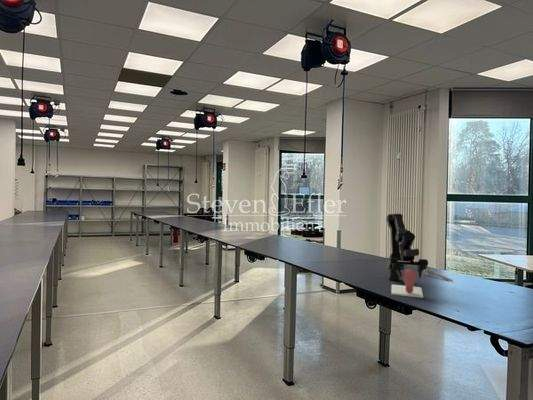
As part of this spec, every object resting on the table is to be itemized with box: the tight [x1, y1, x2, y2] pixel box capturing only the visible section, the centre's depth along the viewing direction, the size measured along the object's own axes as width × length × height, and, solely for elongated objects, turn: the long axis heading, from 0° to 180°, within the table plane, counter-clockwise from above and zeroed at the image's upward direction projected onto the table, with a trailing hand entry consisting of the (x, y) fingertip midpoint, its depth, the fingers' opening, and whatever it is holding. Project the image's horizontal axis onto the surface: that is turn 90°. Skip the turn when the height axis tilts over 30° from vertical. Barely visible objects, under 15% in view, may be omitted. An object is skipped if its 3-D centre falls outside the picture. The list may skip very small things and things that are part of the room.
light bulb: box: [401, 268, 418, 293], centre depth 198 cm, size 7×7×12 cm
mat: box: [390, 284, 424, 299], centre depth 203 cm, size 19×15×1 cm
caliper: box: [422, 266, 454, 283], centre depth 238 cm, size 20×1×6 cm, turn 30°
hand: (410, 277), depth 196 cm, fingers open, 9 cm apart
